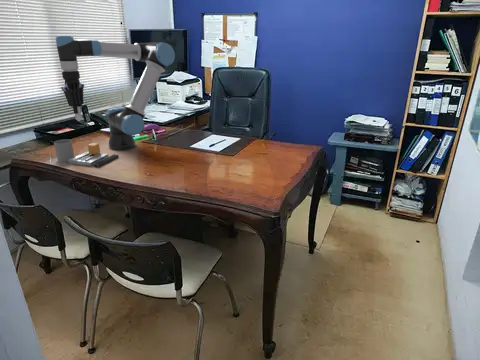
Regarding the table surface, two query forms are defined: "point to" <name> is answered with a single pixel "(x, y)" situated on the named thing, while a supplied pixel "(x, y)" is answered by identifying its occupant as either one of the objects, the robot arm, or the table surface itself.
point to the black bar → (106, 160)
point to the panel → (87, 159)
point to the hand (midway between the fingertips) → (79, 119)
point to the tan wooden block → (94, 148)
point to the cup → (64, 150)
